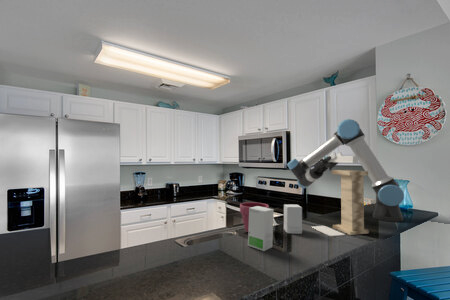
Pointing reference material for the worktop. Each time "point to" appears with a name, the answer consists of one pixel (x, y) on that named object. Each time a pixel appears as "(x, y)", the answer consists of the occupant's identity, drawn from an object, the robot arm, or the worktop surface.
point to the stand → (351, 202)
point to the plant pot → (245, 211)
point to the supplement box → (293, 219)
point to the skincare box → (260, 228)
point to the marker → (345, 159)
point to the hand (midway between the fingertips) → (338, 154)
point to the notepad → (328, 231)
